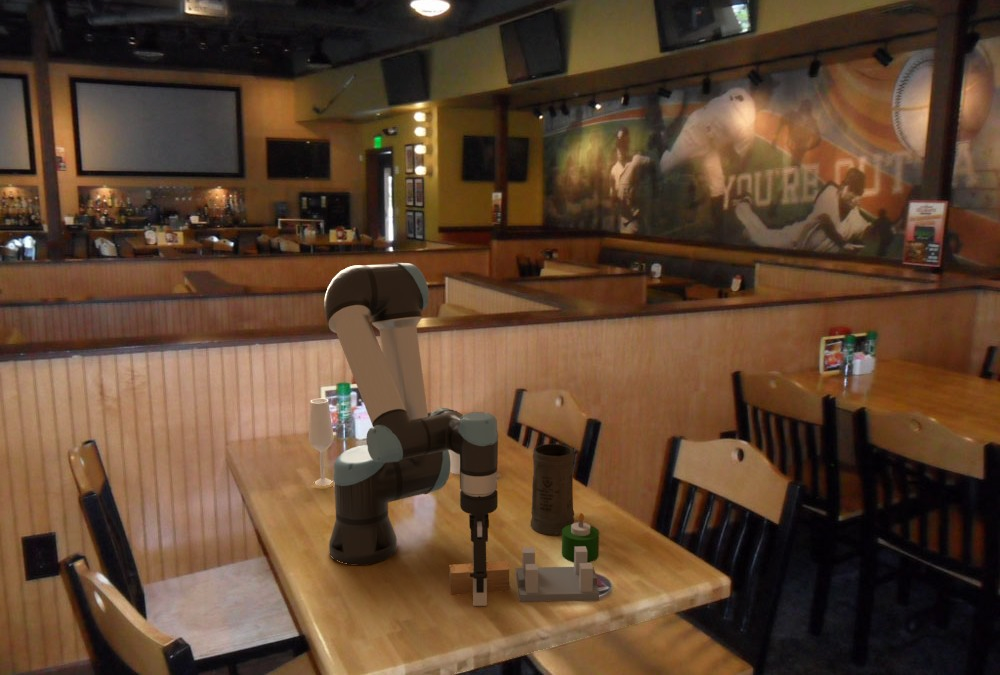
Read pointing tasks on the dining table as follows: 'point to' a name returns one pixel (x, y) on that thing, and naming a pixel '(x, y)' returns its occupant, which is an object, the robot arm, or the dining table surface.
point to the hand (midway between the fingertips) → (479, 587)
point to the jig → (557, 579)
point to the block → (464, 582)
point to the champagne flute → (320, 433)
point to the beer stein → (552, 488)
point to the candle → (580, 539)
